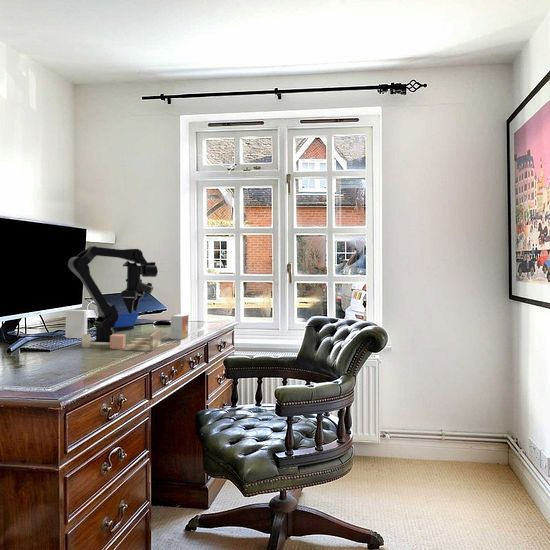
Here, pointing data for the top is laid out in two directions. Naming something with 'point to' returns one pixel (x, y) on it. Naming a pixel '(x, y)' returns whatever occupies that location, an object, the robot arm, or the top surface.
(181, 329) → the small box
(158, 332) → the lane rack
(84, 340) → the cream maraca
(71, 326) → the white rectangular block
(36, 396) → the top surface
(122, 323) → the blue bin
